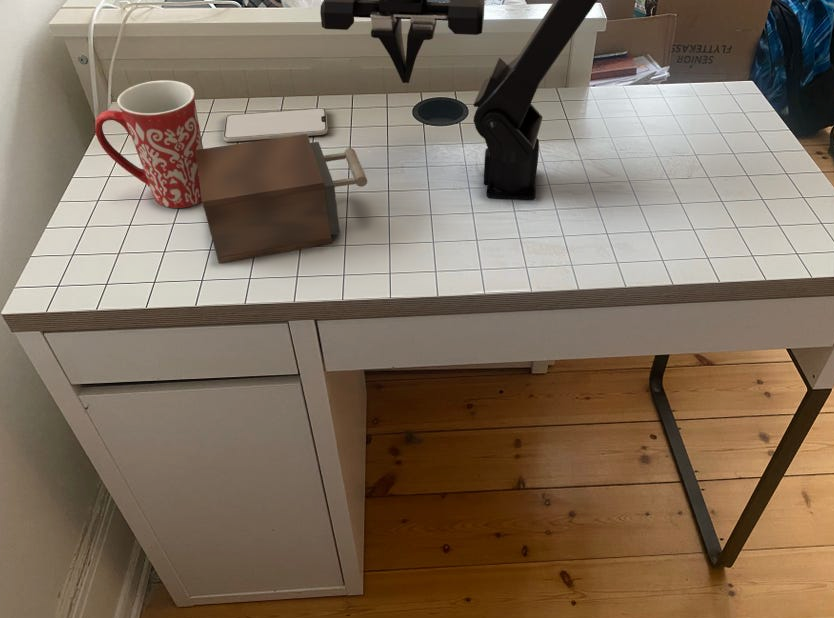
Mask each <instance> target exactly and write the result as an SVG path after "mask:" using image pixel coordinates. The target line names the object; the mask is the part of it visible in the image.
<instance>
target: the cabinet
mask: <svg viewBox="0 0 834 618" xmlns="http://www.w3.org/2000/svg"><path fill="white" fill-rule="evenodd" d="M311 143H312V142H311V141H310V138H309V136H308V135H307V134H304V135H297V136H290V137H283V138H272V139H261V140H254V141H248V142H242V143H233V144H227V145H221V146H220V145H219V146H213V147H208V148H203V149H199V150H195V152H196V160H197V167H198V175H199V182H200V190H201V197H202V201H201V203H202V207H203V211H204V214H205V217H206V221H207V225H208V230H209V232H210V236H211V240H212V244H213V247H214V251H215V255H216V259H217V262H218V264H222V263H227V262H233V261H239V260H244V259H251V258H257V257H263V256H267V255H273V254H279V253H285V252H291V251H297V250H303V249H308V248H313V247H314V248H315V247H319V246H325V245H331V244H333V241H332V234H331V232H330V224H329V216H328V209H327V201H326V193H325V185H324V181H323V178H322V175H321V172H320V169H319V166H318V164H317V161H316V158H315V155H314V152H313V149H312V146H311Z"/></svg>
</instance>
